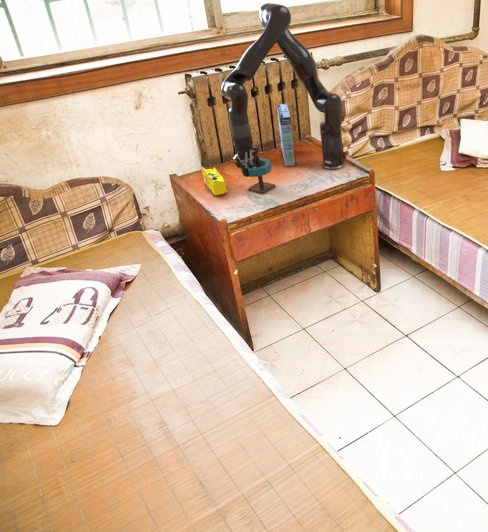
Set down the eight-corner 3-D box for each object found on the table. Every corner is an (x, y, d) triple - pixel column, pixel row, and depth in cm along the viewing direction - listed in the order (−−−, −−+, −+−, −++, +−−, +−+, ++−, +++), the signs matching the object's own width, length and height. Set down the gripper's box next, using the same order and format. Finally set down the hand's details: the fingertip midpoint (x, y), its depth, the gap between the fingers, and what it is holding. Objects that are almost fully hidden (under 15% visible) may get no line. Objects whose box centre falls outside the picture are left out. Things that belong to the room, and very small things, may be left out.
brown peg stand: (260, 183, 235) (255, 150, 227) (275, 186, 232) (270, 153, 224) (248, 190, 230) (242, 156, 221) (263, 194, 226) (257, 160, 218)
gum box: (282, 151, 266) (276, 104, 253) (292, 150, 267) (287, 103, 254) (285, 166, 250) (278, 117, 237) (296, 165, 251) (290, 116, 238)
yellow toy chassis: (203, 184, 236) (199, 165, 231) (216, 180, 238) (212, 163, 234) (214, 197, 224) (210, 178, 220) (227, 194, 227) (224, 175, 222)
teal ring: (254, 163, 232) (253, 156, 230) (277, 167, 227) (276, 161, 225) (235, 173, 223) (234, 166, 221) (258, 178, 218) (257, 171, 217)
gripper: (236, 141, 205) (244, 183, 215) (260, 129, 215) (266, 170, 225) (221, 138, 208) (230, 179, 218) (245, 127, 218) (252, 167, 228)
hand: (248, 174), depth 221 cm, fingers closed on teal ring, 2 cm apart
